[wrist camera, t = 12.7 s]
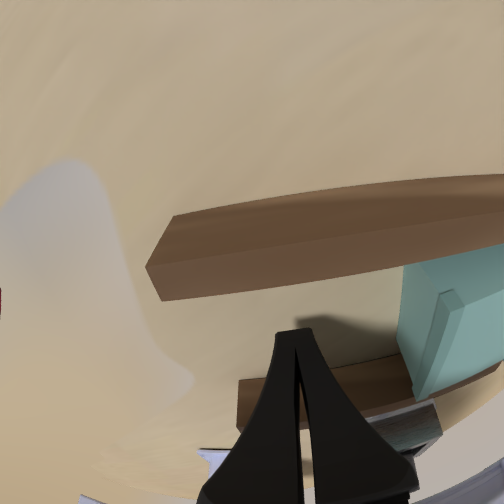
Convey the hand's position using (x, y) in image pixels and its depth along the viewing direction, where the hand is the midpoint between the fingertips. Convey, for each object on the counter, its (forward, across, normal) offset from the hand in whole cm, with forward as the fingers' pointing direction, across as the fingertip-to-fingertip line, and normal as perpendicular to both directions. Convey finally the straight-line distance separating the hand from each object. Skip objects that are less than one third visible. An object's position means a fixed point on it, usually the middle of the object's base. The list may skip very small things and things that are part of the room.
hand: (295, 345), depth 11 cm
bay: (+1, -5, 0) cm, 5 cm away
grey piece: (+1, -6, +10) cm, 12 cm away
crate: (+2, -8, 0) cm, 8 cm away
